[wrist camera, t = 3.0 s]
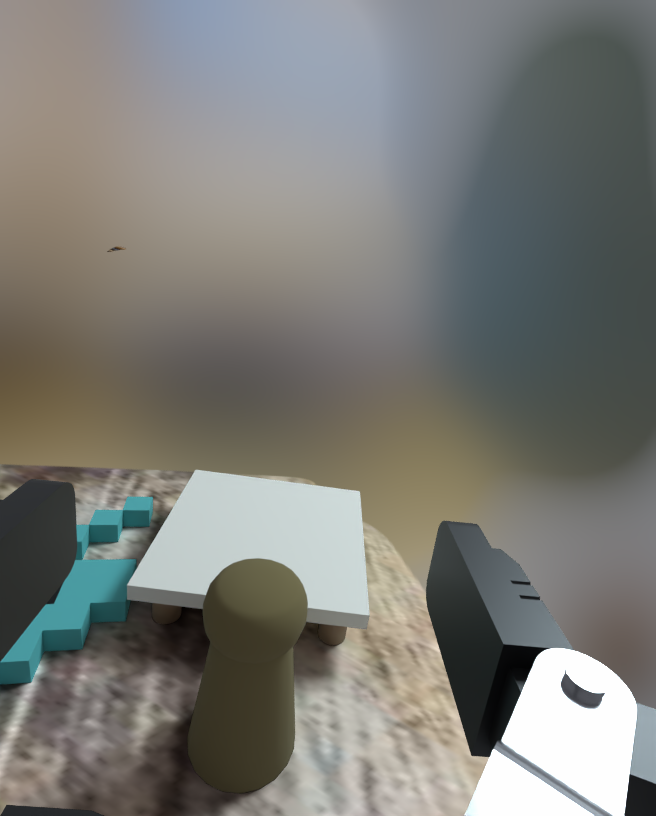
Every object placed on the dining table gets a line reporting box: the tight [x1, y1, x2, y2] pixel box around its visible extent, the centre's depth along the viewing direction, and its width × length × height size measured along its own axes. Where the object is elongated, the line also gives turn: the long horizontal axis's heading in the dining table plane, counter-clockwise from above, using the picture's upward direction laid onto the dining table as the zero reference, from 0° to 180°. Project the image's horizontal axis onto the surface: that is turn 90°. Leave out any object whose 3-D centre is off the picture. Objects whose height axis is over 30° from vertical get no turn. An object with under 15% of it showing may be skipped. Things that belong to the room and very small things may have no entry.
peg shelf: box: [127, 470, 369, 645], centre depth 40 cm, size 16×16×4 cm
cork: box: [187, 558, 308, 793], centre depth 25 cm, size 6×6×11 cm
